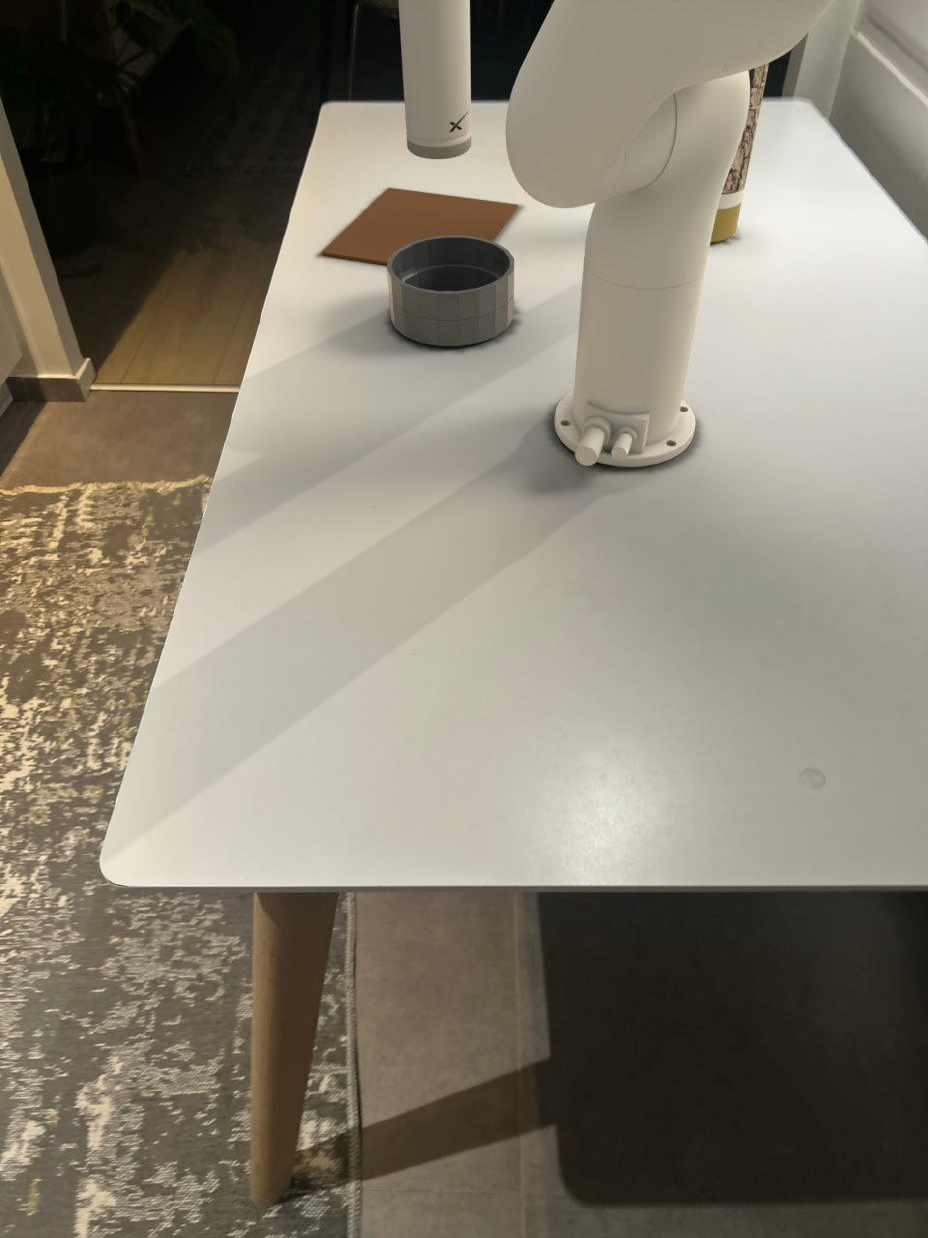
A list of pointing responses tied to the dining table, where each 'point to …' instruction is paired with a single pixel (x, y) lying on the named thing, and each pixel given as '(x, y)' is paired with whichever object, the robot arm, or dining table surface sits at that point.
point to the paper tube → (740, 162)
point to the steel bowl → (451, 290)
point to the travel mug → (436, 76)
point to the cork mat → (416, 223)
